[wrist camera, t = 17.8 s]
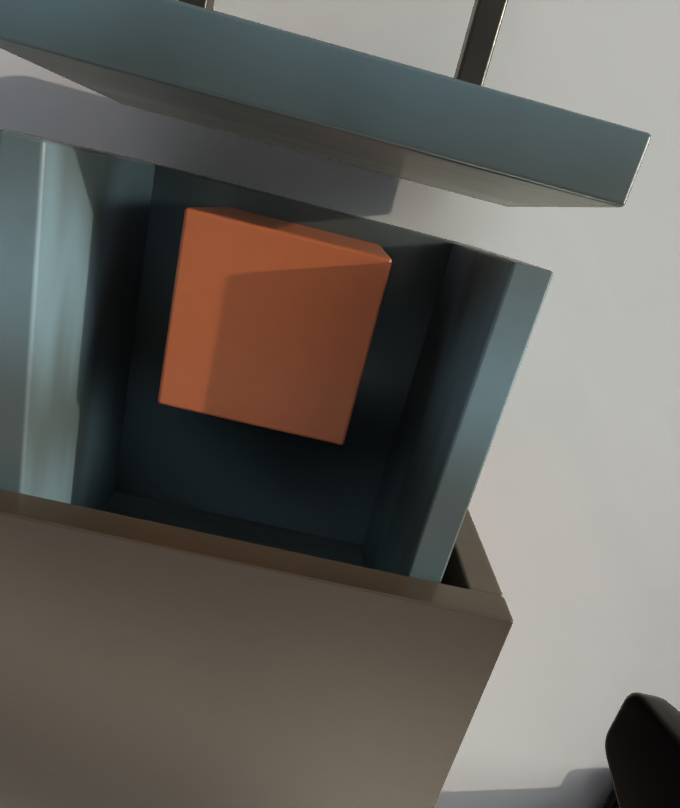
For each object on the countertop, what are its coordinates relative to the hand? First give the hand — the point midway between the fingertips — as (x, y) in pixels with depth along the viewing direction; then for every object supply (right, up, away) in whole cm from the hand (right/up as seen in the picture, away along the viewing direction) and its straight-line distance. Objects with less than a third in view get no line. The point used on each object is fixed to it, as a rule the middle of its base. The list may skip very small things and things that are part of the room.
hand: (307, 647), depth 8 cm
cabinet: (-4, -3, +14) cm, 15 cm away
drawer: (-1, +7, +10) cm, 12 cm away
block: (-1, +6, +9) cm, 11 cm away
